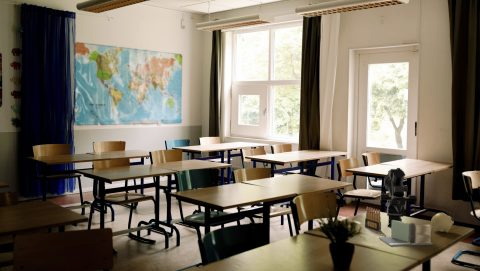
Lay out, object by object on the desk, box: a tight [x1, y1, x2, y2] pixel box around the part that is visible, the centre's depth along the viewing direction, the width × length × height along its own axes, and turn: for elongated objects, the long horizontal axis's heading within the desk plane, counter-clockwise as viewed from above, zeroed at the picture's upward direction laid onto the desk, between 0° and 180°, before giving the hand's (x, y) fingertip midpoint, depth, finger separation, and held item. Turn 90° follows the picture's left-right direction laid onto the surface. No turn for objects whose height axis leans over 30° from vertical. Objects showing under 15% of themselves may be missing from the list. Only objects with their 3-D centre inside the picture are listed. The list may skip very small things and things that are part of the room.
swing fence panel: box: [390, 220, 411, 242], centre depth 241 cm, size 10×1×9 cm, turn 38°
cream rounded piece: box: [430, 212, 455, 233], centre depth 258 cm, size 10×12×11 cm
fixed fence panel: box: [410, 222, 432, 244], centre depth 236 cm, size 10×2×10 cm, turn 98°
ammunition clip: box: [364, 206, 382, 232], centre depth 263 cm, size 11×2×12 cm, turn 30°
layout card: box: [378, 236, 434, 247], centre depth 241 cm, size 22×14×1 cm, turn 98°
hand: (399, 212), depth 250 cm, fingers closed
